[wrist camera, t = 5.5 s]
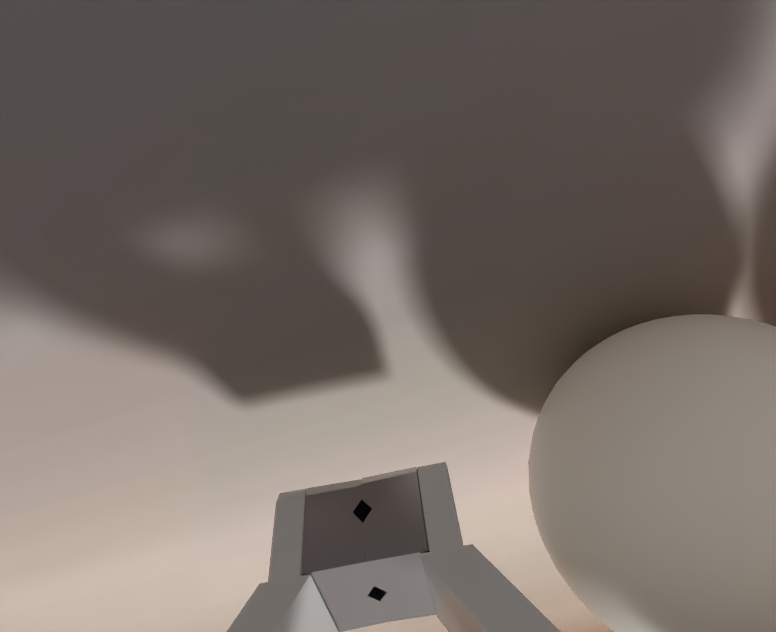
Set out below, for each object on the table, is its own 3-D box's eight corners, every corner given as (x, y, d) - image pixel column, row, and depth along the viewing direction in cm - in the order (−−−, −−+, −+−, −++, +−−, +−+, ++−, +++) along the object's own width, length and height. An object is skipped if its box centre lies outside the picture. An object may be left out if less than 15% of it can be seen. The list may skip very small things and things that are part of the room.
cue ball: (561, 722, 10) (563, 463, 14) (987, 780, 8) (837, 452, 12) (470, 535, 7) (506, 280, 11) (1112, 540, 5) (857, 219, 9)
